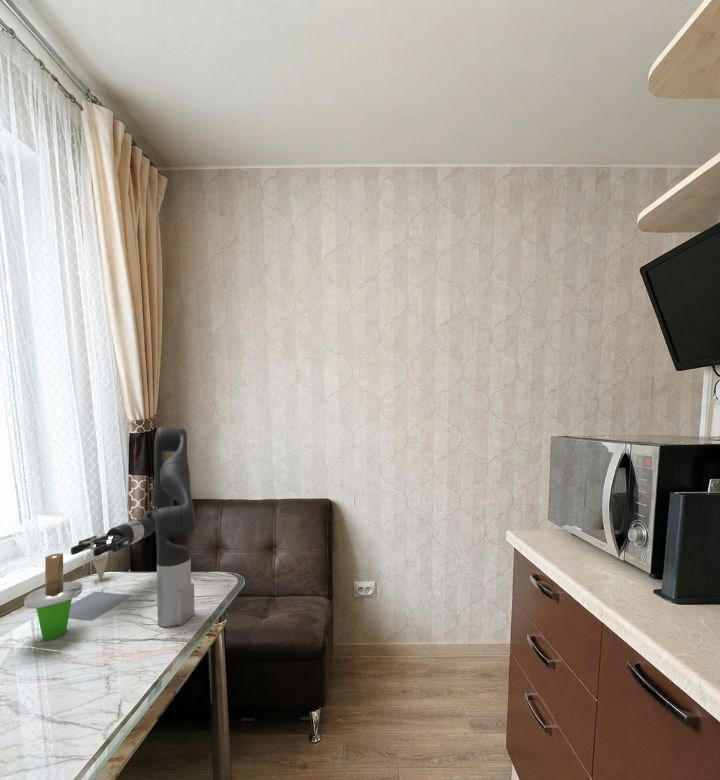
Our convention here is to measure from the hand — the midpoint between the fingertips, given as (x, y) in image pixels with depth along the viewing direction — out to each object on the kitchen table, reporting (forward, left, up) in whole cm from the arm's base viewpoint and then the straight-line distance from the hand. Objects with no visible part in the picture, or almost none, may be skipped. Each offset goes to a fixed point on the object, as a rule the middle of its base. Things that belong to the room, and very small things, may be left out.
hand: (83, 552), depth 121 cm
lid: (0, +9, -9) cm, 13 cm away
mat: (+4, -7, -20) cm, 22 cm away
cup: (0, +9, -20) cm, 22 cm away
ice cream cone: (+18, -23, -20) cm, 36 cm away
